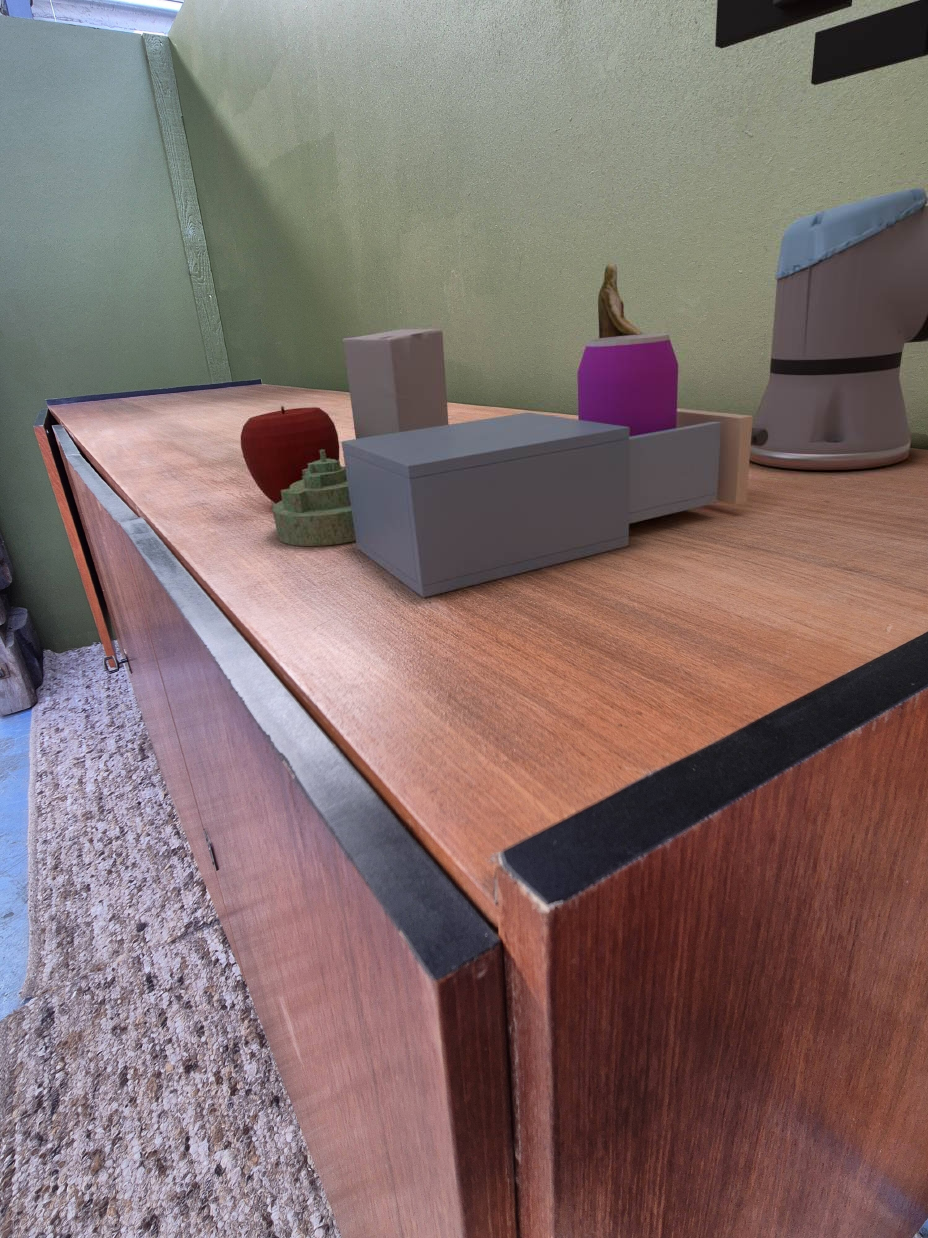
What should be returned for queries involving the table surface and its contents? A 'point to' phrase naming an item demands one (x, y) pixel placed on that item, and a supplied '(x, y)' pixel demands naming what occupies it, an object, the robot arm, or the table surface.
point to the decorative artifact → (316, 507)
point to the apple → (286, 446)
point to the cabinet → (488, 497)
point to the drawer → (691, 463)
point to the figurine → (612, 308)
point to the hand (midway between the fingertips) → (771, 39)
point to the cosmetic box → (396, 381)
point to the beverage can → (629, 383)
